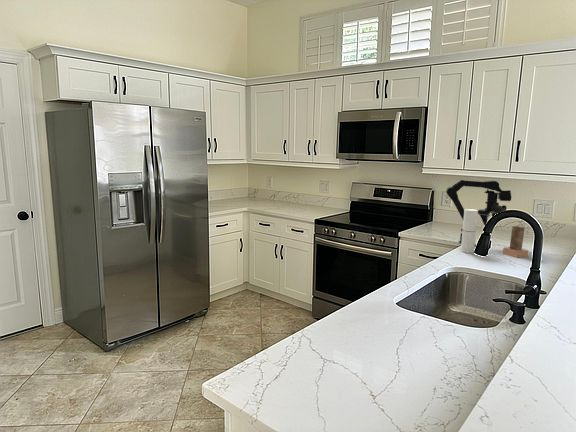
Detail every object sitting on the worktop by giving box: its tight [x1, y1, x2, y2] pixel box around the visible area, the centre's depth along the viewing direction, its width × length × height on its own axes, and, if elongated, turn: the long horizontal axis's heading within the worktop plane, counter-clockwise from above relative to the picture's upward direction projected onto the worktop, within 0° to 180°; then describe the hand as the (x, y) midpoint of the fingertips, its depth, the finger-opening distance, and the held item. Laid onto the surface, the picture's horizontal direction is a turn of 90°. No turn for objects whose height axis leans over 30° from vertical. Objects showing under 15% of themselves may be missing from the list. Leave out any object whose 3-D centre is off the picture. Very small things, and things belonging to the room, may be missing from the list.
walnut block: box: [509, 225, 526, 250], centre depth 232 cm, size 4×4×13 cm
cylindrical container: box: [460, 208, 479, 254], centre depth 238 cm, size 7×7×25 cm
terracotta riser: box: [502, 246, 529, 258], centre depth 233 cm, size 9×9×4 cm
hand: (489, 224), depth 259 cm, fingers open, 9 cm apart
